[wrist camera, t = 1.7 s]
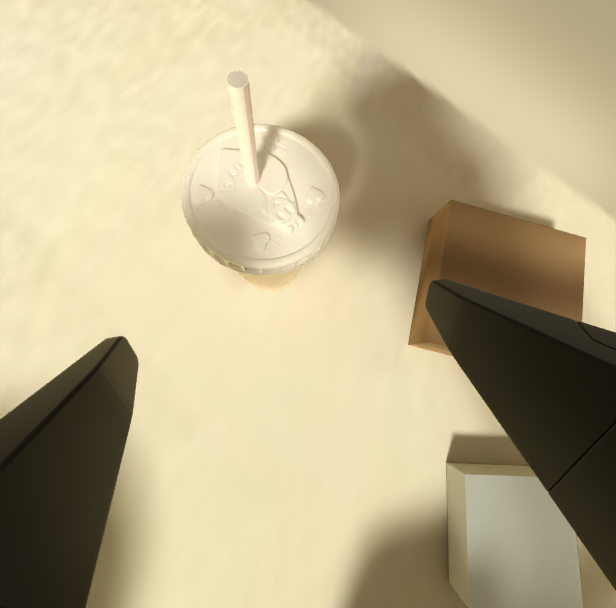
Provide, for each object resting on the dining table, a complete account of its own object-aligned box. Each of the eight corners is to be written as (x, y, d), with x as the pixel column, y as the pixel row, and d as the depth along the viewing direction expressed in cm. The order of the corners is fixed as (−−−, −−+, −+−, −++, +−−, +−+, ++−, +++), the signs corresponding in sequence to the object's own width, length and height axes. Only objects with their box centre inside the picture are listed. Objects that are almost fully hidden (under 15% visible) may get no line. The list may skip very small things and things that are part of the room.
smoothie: (272, 208, 22) (259, -45, 8) (332, 269, 21) (426, 110, 8) (205, 264, 21) (57, 76, 7) (268, 329, 20) (244, 268, 6)
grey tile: (551, 583, 19) (583, 609, 17) (449, 583, 18) (469, 610, 16) (542, 466, 20) (570, 478, 18) (446, 462, 20) (464, 474, 18)
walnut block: (537, 377, 21) (579, 380, 18) (408, 344, 21) (429, 342, 18) (547, 253, 23) (585, 237, 20) (429, 220, 23) (451, 199, 20)
